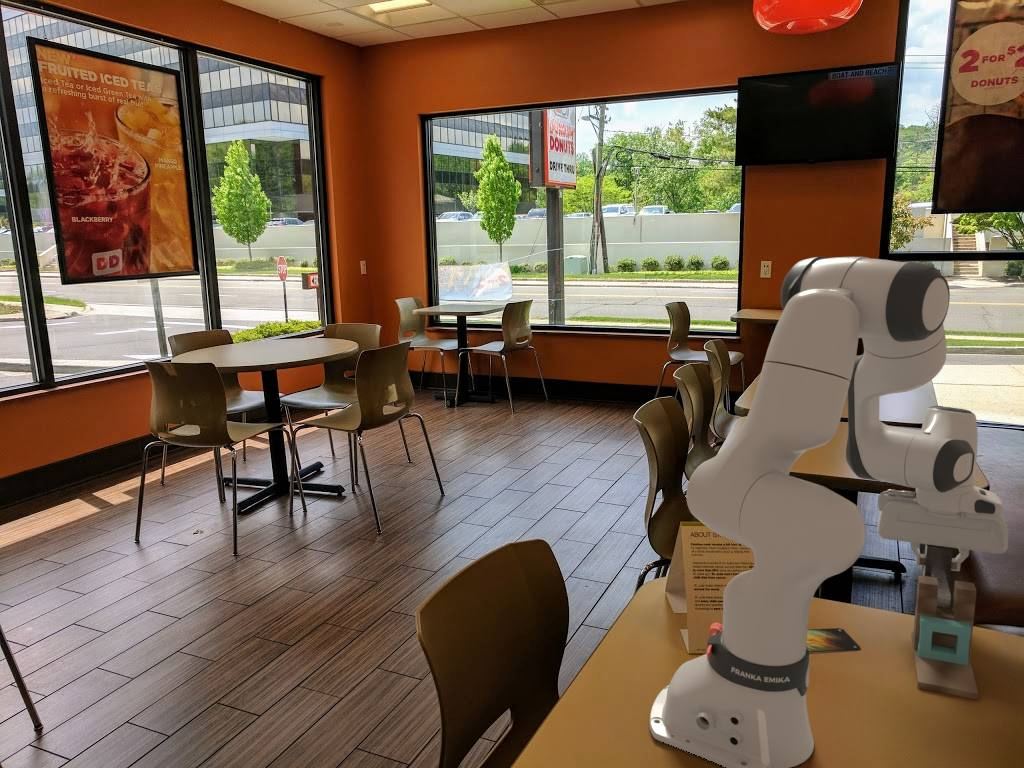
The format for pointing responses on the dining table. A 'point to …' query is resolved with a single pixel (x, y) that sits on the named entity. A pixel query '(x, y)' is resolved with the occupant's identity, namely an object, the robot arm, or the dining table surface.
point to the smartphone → (830, 641)
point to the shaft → (939, 570)
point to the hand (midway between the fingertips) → (937, 567)
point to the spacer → (940, 652)
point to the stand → (944, 639)
